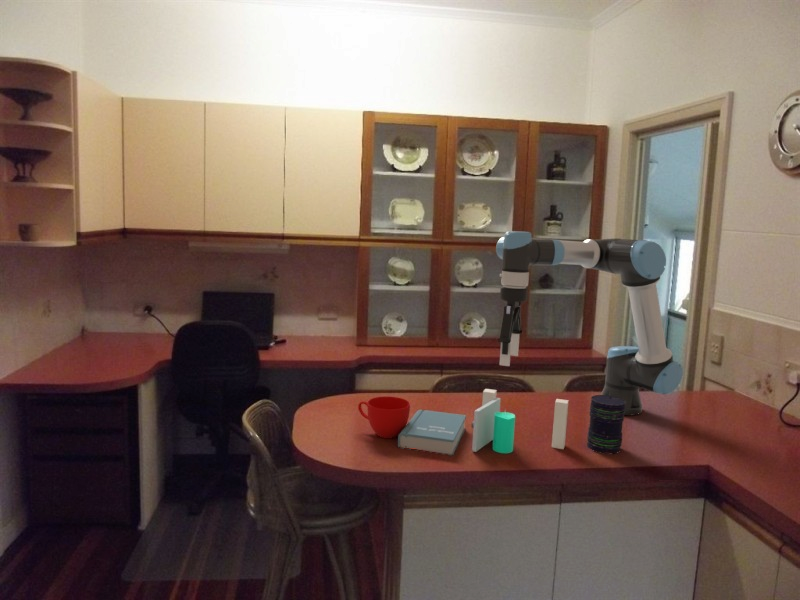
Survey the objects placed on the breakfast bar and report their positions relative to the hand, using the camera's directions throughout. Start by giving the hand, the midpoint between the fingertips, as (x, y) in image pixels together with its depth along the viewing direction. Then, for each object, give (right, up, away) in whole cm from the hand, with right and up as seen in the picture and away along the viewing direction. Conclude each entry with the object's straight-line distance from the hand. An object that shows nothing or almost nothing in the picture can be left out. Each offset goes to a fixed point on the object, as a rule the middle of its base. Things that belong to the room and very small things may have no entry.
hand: (509, 360), depth 172 cm
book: (-21, -25, +11) cm, 35 cm away
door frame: (+7, -26, +11) cm, 29 cm away
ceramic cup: (-37, -24, +13) cm, 46 cm away
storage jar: (+30, -27, +8) cm, 41 cm away
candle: (-1, -27, +4) cm, 27 cm away
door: (-6, -25, +8) cm, 27 cm away
